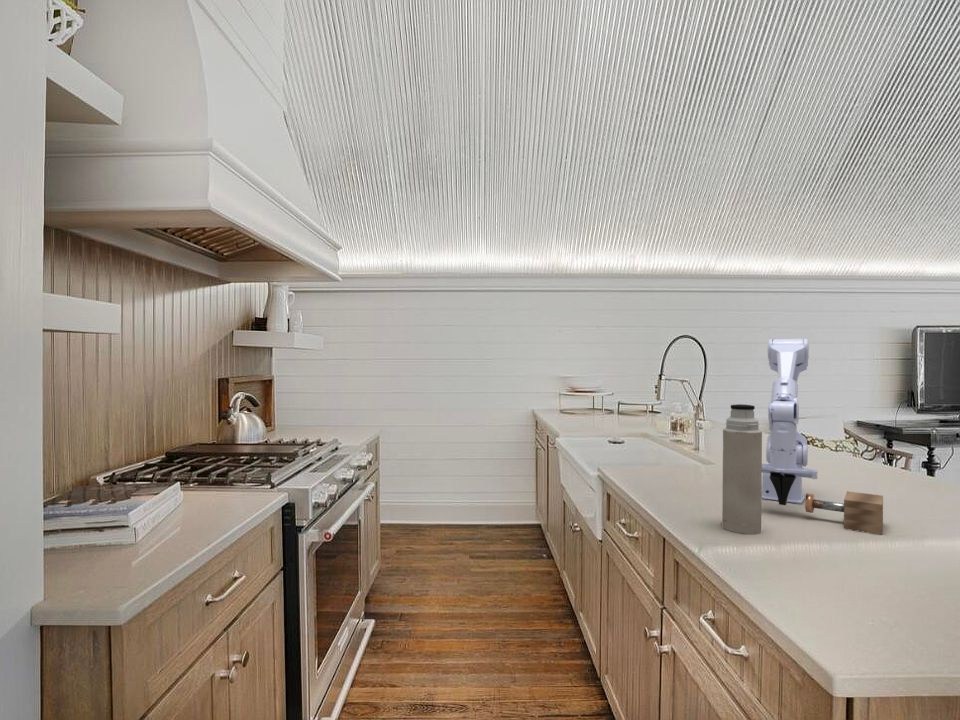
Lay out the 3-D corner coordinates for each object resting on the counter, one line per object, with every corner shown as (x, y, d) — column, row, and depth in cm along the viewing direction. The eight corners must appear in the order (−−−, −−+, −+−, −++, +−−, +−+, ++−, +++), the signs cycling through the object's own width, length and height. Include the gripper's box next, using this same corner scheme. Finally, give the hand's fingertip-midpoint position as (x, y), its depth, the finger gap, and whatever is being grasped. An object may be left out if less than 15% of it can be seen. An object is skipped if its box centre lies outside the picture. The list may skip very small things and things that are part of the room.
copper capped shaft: (805, 513, 133) (805, 495, 133) (807, 509, 136) (807, 491, 136) (863, 522, 126) (863, 503, 126) (864, 518, 129) (864, 499, 129)
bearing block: (843, 528, 126) (844, 499, 126) (846, 518, 134) (847, 491, 134) (882, 534, 121) (882, 504, 121) (882, 523, 129) (883, 495, 129)
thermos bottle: (720, 521, 131) (721, 402, 130) (758, 525, 128) (759, 403, 128) (723, 531, 123) (724, 405, 123) (763, 535, 120) (764, 406, 120)
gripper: (747, 448, 139) (747, 502, 139) (815, 454, 130) (814, 512, 130) (753, 444, 144) (753, 497, 144) (818, 450, 135) (818, 506, 136)
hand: (782, 504), depth 137 cm, fingers closed
